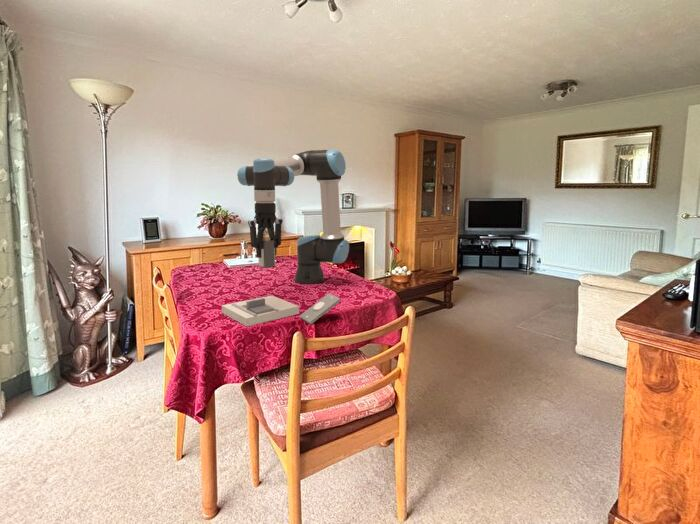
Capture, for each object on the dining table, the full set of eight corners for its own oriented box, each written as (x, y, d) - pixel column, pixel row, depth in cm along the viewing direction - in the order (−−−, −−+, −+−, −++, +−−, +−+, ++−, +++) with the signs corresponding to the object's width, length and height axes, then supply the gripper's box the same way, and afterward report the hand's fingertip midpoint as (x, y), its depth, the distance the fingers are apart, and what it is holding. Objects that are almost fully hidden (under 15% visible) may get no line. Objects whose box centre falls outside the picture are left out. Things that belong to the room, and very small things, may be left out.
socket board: (222, 312, 156) (221, 303, 155) (272, 302, 170) (271, 294, 169) (246, 326, 141) (246, 316, 140) (299, 313, 155) (299, 304, 154)
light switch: (297, 314, 149) (327, 291, 155) (304, 326, 152) (334, 303, 157) (308, 320, 142) (339, 296, 148) (315, 333, 145) (345, 308, 150)
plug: (259, 266, 152) (258, 237, 150) (269, 265, 155) (268, 236, 153) (265, 268, 149) (264, 238, 147) (274, 266, 152) (273, 237, 150)
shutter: (246, 309, 149) (246, 301, 149) (263, 306, 154) (263, 298, 153) (256, 314, 144) (255, 305, 143) (273, 310, 149) (273, 302, 148)
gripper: (249, 203, 139) (251, 269, 143) (290, 202, 151) (291, 263, 155) (238, 202, 145) (241, 266, 149) (279, 201, 156) (280, 261, 160)
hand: (267, 265), depth 152 cm, fingers closed on plug, 4 cm apart
